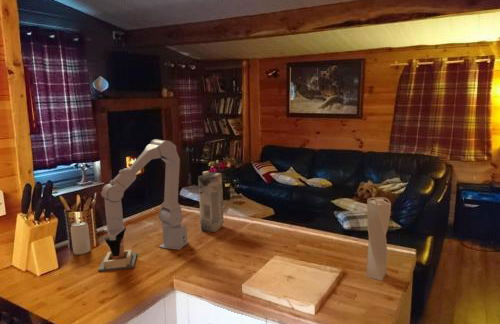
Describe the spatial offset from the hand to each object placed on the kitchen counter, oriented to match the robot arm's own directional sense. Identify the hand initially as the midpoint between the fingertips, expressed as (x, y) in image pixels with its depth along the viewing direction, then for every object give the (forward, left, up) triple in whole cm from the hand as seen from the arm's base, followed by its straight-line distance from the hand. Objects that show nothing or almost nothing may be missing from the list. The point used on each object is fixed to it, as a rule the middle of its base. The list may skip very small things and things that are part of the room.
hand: (117, 251), depth 137 cm
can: (+21, -4, -5) cm, 22 cm away
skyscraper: (-91, -16, -5) cm, 92 cm away
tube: (0, 0, -4) cm, 4 cm away
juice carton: (-19, -42, -5) cm, 46 cm away
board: (0, 0, -4) cm, 4 cm away
